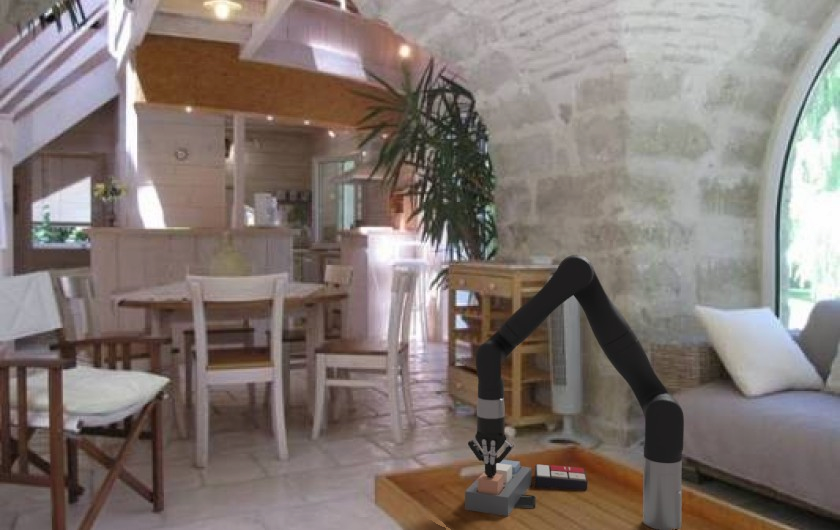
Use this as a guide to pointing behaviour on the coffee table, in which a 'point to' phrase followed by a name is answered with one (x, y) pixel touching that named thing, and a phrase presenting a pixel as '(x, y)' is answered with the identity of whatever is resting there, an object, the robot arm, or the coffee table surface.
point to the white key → (504, 472)
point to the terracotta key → (490, 484)
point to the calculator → (560, 477)
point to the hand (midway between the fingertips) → (490, 476)
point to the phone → (526, 501)
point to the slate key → (514, 465)
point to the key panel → (505, 499)
